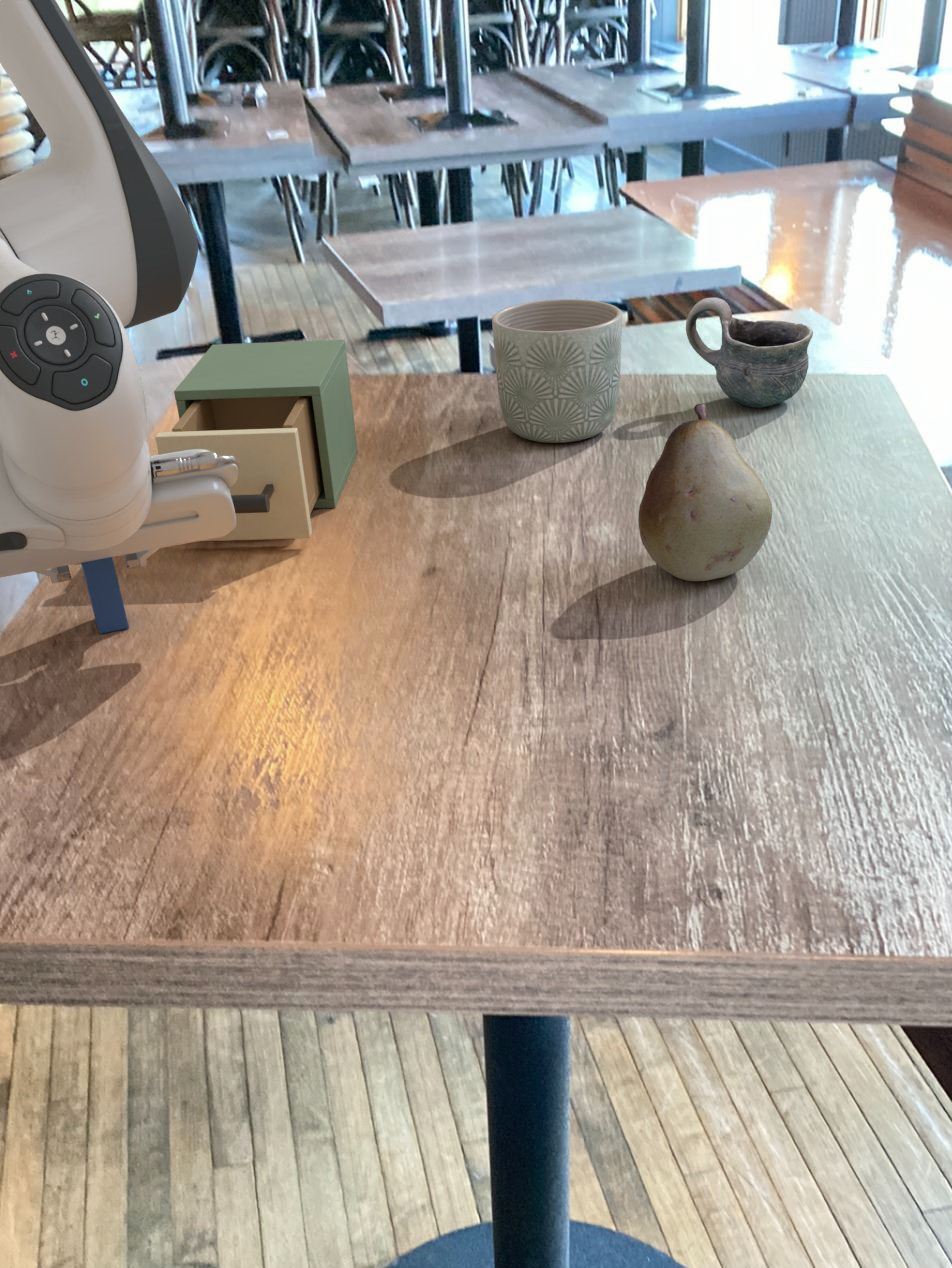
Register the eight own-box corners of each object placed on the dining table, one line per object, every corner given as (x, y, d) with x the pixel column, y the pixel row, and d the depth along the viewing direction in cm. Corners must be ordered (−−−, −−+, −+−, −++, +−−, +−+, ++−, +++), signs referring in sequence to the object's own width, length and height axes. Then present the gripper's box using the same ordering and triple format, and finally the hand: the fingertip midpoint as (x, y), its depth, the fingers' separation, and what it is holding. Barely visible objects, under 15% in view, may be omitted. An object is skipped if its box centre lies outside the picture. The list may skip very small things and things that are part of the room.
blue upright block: (99, 636, 99) (75, 541, 95) (92, 616, 102) (68, 522, 98) (131, 630, 100) (108, 535, 95) (124, 610, 103) (101, 516, 98)
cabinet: (335, 508, 118) (319, 385, 112) (197, 512, 119) (173, 391, 113) (358, 452, 130) (344, 339, 123) (231, 456, 131) (212, 344, 124)
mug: (812, 415, 132) (821, 308, 126) (685, 419, 133) (689, 313, 127) (801, 387, 140) (810, 284, 134) (682, 390, 141) (685, 289, 135)
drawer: (301, 558, 107) (285, 450, 102) (163, 562, 108) (140, 454, 103) (334, 481, 121) (322, 382, 116) (212, 484, 122) (194, 386, 117)
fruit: (718, 536, 109) (725, 386, 102) (795, 573, 102) (809, 415, 95) (616, 567, 105) (616, 413, 98) (690, 608, 98) (696, 446, 91)
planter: (642, 439, 129) (643, 320, 122) (522, 459, 126) (517, 338, 119) (593, 404, 138) (592, 292, 132) (481, 422, 135) (474, 309, 129)
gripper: (226, 407, 89) (223, 502, 102) (-94, 458, 83) (-53, 551, 97) (251, 494, 88) (245, 578, 101) (-70, 550, 83) (-32, 632, 96)
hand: (97, 565), depth 99 cm, fingers open, 4 cm apart
